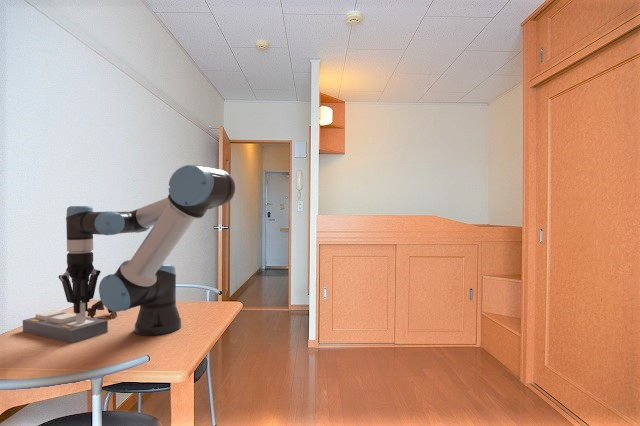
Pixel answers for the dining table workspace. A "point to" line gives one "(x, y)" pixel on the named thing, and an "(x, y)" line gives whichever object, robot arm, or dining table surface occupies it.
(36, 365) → the dining table surface
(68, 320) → the key middle
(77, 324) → the key
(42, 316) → the key
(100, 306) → the dark brown knobbly arch
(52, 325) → the keypad
